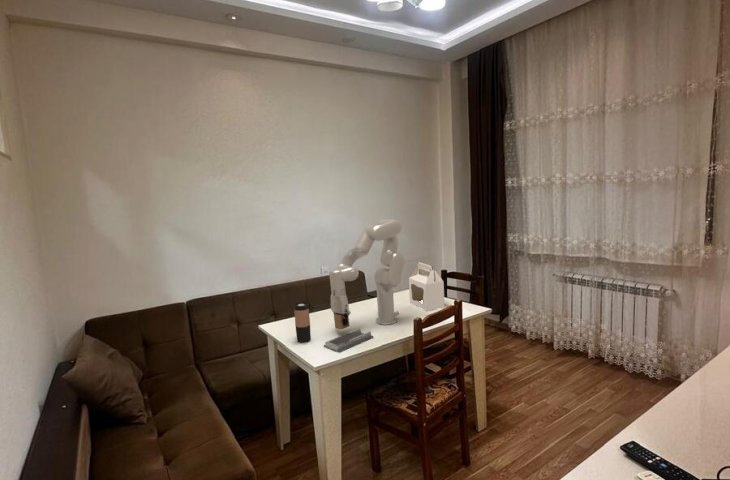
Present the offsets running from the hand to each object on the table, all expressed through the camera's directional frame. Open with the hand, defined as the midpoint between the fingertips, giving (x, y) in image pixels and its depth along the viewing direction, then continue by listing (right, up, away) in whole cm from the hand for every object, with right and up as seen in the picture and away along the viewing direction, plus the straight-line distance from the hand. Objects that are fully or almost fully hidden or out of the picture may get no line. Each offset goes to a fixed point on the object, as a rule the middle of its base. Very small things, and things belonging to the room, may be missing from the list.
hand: (342, 323), depth 212 cm
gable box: (+53, +2, +43) cm, 68 cm away
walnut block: (0, -2, 0) cm, 2 cm away
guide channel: (+4, -7, -12) cm, 14 cm away
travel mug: (-20, -8, -6) cm, 22 cm away
